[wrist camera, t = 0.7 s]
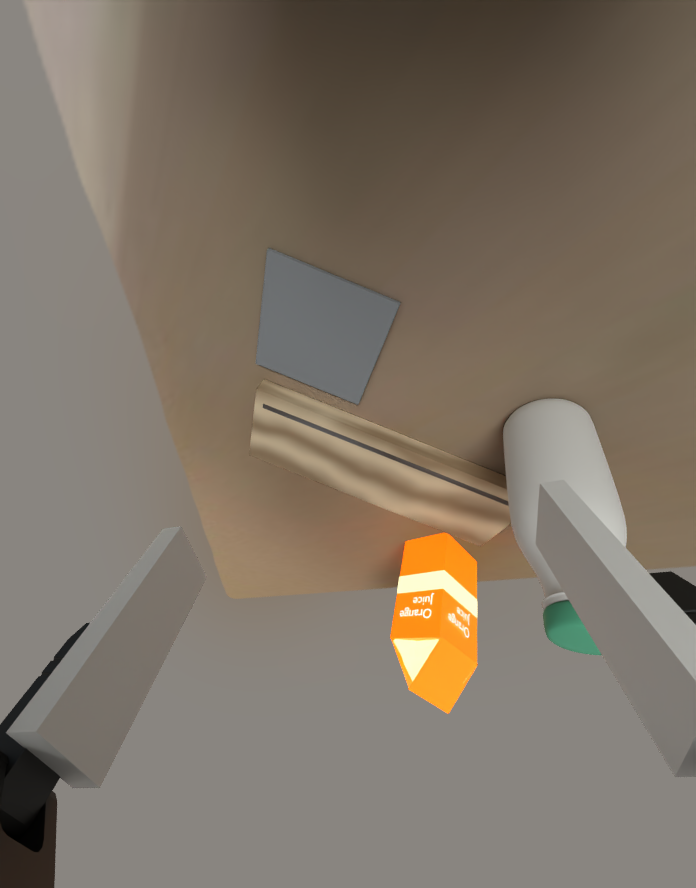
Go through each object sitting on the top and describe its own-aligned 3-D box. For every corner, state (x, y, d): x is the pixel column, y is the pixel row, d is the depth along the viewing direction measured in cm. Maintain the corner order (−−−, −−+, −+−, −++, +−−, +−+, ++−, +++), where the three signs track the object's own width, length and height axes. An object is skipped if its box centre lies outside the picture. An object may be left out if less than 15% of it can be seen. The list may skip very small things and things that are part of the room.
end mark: (269, 247, 29) (267, 249, 29) (400, 302, 30) (400, 304, 30) (257, 361, 38) (255, 363, 38) (358, 402, 39) (358, 404, 38)
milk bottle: (486, 423, 36) (492, 623, 23) (560, 380, 31) (626, 606, 17) (532, 464, 38) (563, 669, 25) (608, 430, 33) (700, 666, 20)
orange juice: (435, 568, 59) (422, 710, 46) (404, 541, 56) (381, 686, 42) (478, 562, 55) (479, 718, 41) (447, 531, 51) (437, 691, 37)
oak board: (264, 378, 40) (255, 389, 38) (536, 488, 41) (539, 503, 39) (255, 445, 48) (248, 455, 47) (480, 534, 49) (480, 547, 48)
